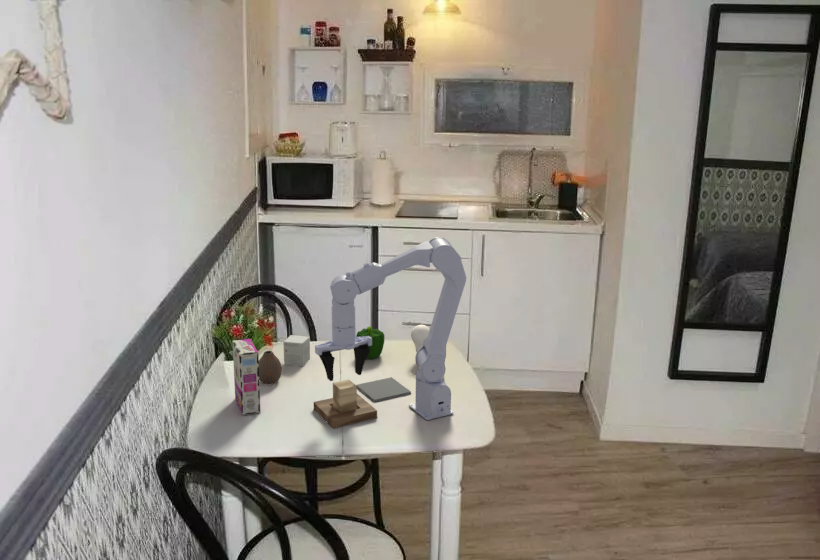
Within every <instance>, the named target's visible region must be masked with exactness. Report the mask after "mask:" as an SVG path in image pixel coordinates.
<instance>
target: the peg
mask: <svg viewBox="0 0 820 560" xmlns="http://www.w3.org/2000/svg"><path fill="white" fill-rule="evenodd" d="M356 385H357V384H355V383H354V382H353V381H352V380H351V379H344V380H340V381H335V382H334V381H333V382H332V398H333V408H334V409H335V410H336V411H337V412H338V413H343V412H347V411H351V410H356V409H357V394H358V392H357V391H358V388H357V386H356Z"/></svg>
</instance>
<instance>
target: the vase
mask: <svg viewBox="0 0 820 560" xmlns="http://www.w3.org/2000/svg"><path fill="white" fill-rule="evenodd" d="M282 373H283V367H282V363H281V361H280V359H279V358H278V357H277V356H276V355H275V354H274V352H273V350H266V351H264V352H263V354H262V356H261V357H259V382H261V383H262V384H264V385H269V386H270V385H274V384H276V383H277V382H279V381H280V379H281V378H282Z"/></svg>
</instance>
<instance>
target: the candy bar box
mask: <svg viewBox="0 0 820 560" xmlns="http://www.w3.org/2000/svg"><path fill="white" fill-rule="evenodd" d="M232 359H233V376H234V382H233V383H234V399H235V401H236V404H237V406H238V408H239V412H240V413H241V416H248V415H247V414H249V415H256V414H260V413H261V394H260V391H261V389H260V388H261V387H260V380H259V360H260V357H259V352H258V350H257V348H256V347H255V345H254V343H253V341H252V339H251V338H244V339H238V340H237V339H235V340H232ZM255 413H256V414H255Z"/></svg>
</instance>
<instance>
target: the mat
mask: <svg viewBox="0 0 820 560" xmlns="http://www.w3.org/2000/svg"><path fill="white" fill-rule="evenodd" d="M355 385H356V386H357V390H360V392H362V394H364V395H365V396H366V397H368V399H370V400H371V401H373V403H376V401H377V402H380V401H386V400H389V399H394V398H399V397H403V396H407V395H412V391H410V389H408V388H407V387H405V385H403V384H402V383H400V382H399V381H397V380H396V379H395V378H393V377H387V378H381V379H377V380H373V381H369V382H368V381H367V382H364V383H359V384H355ZM402 395H403V396H402ZM398 396H399V397H398Z"/></svg>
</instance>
